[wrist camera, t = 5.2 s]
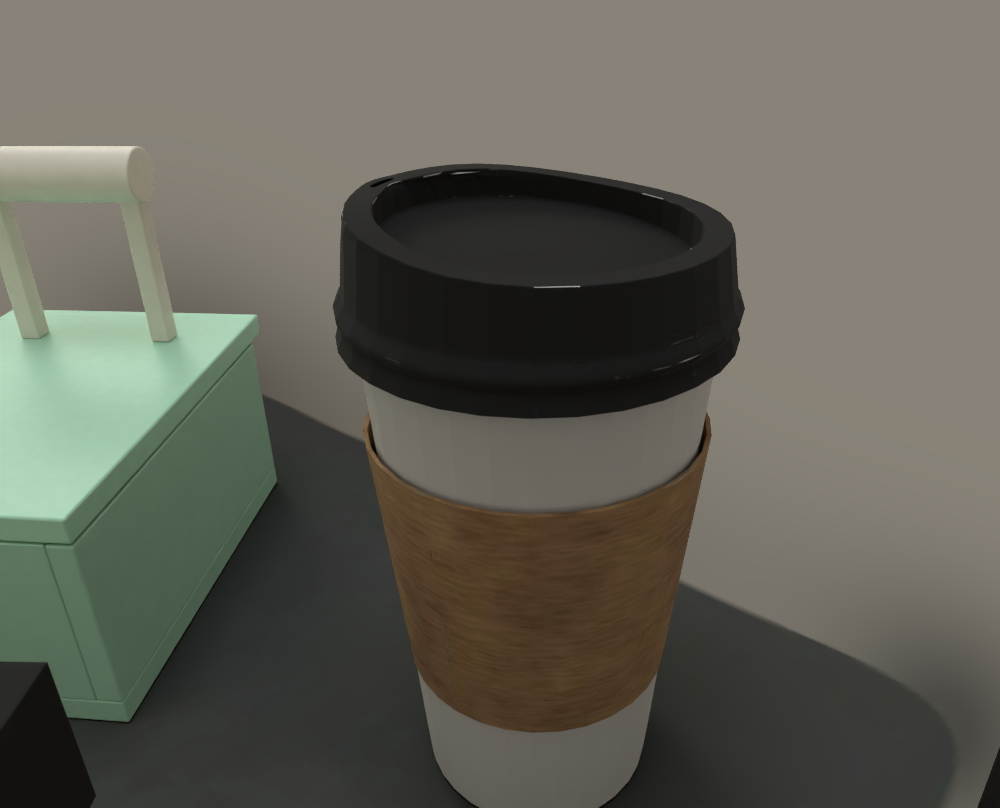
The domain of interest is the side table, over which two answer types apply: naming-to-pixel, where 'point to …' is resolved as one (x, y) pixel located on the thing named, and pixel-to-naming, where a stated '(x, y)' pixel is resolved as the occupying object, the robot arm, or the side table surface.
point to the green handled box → (92, 353)
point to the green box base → (142, 556)
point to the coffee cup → (535, 451)
